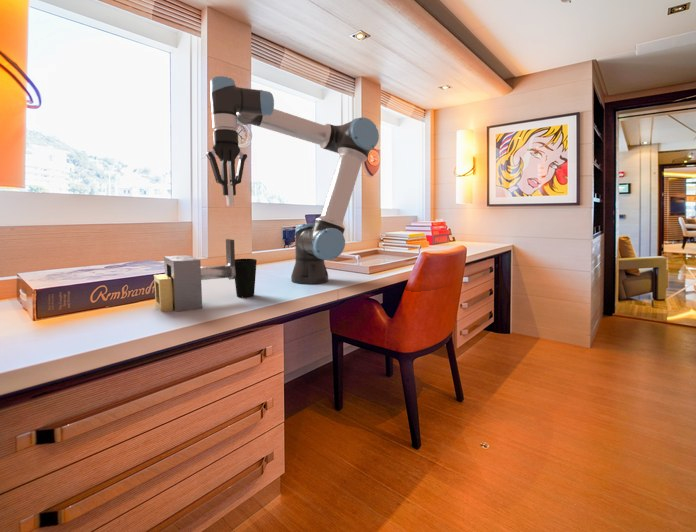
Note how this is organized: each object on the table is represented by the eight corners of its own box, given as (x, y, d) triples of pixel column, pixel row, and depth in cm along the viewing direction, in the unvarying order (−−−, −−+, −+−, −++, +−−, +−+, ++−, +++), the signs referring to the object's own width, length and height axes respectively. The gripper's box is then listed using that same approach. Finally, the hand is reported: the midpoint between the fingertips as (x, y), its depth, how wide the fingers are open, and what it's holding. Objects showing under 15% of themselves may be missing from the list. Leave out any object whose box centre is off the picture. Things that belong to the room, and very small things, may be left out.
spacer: (166, 303, 112) (165, 274, 111) (173, 310, 105) (171, 278, 104) (155, 305, 110) (153, 274, 109) (161, 311, 103) (159, 279, 102)
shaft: (230, 278, 121) (229, 238, 119) (235, 280, 116) (234, 239, 115) (176, 282, 111) (174, 240, 110) (179, 285, 107) (177, 241, 105)
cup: (250, 299, 120) (250, 261, 118) (229, 297, 121) (227, 260, 120) (261, 294, 127) (260, 259, 126) (240, 292, 129) (239, 258, 127)
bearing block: (190, 299, 118) (188, 255, 117) (202, 308, 107) (200, 259, 105) (166, 301, 114) (163, 256, 112) (176, 311, 103) (173, 261, 101)
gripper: (240, 134, 126) (245, 205, 129) (200, 130, 118) (206, 206, 121) (249, 130, 120) (253, 205, 123) (208, 126, 112) (213, 205, 115)
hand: (230, 205), depth 122 cm, fingers closed
